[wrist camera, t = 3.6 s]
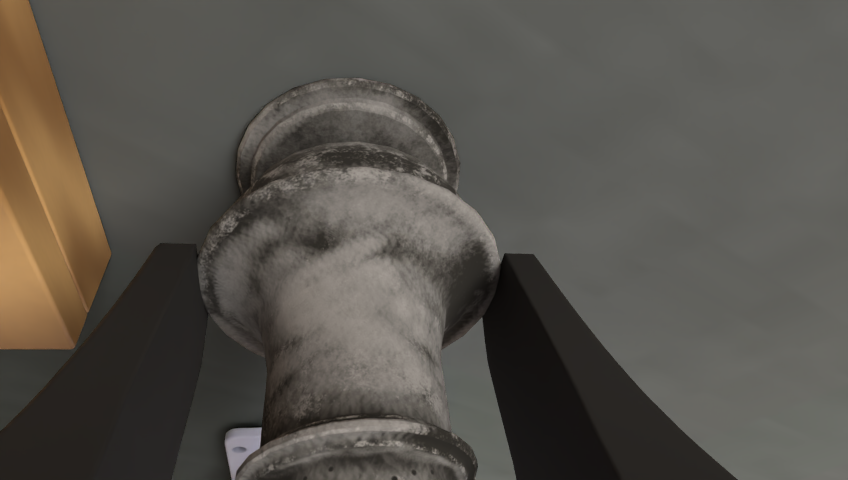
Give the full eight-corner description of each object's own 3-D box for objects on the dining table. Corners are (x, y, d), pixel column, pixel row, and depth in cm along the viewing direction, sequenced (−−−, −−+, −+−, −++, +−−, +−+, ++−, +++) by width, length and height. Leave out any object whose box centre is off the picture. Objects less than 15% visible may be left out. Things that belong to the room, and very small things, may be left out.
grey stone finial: (167, 168, 13) (-150, 1085, 5) (363, 6, 11) (449, 1155, 2) (343, 289, 17) (347, 930, 8) (515, 185, 14) (764, 903, 6)
